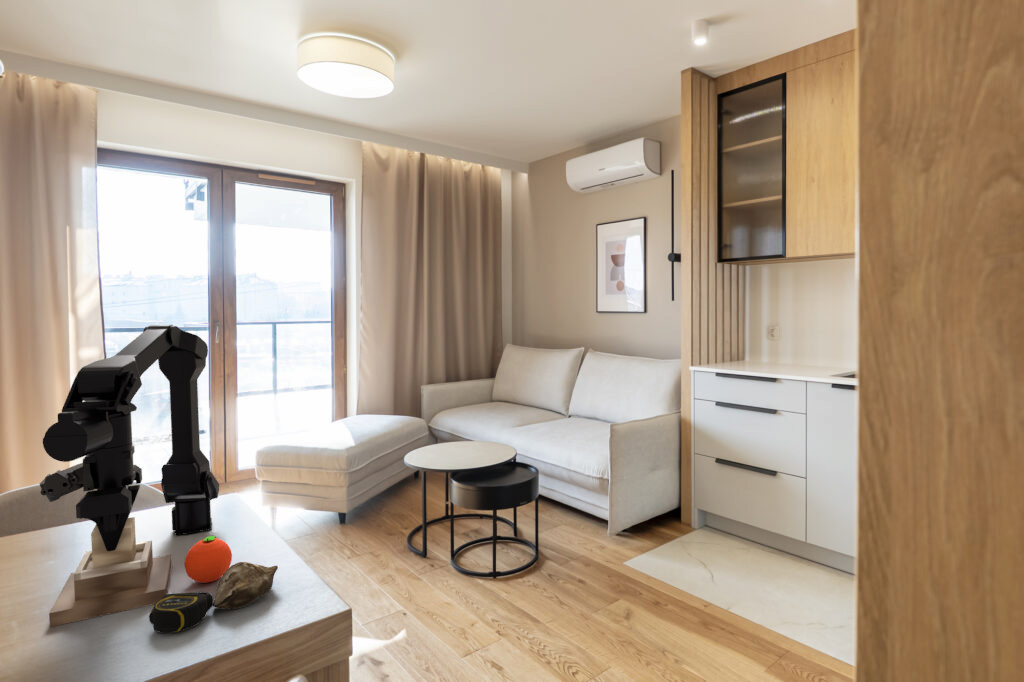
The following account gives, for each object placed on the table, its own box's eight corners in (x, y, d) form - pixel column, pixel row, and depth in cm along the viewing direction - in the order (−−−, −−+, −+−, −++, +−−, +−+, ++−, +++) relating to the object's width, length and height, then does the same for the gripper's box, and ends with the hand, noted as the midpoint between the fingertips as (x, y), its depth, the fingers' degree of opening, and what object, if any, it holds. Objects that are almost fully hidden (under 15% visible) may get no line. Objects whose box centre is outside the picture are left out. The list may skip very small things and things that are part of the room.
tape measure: (215, 611, 83) (214, 587, 82) (192, 638, 76) (191, 611, 76) (167, 614, 82) (166, 589, 82) (140, 641, 75) (139, 613, 75)
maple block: (136, 552, 91) (134, 517, 91) (132, 564, 87) (130, 527, 87) (98, 559, 89) (96, 522, 89) (93, 572, 84) (91, 533, 84)
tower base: (171, 565, 98) (170, 532, 97) (165, 601, 85) (164, 563, 85) (71, 585, 91) (69, 549, 91) (49, 626, 79) (47, 585, 78)
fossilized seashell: (230, 607, 79) (292, 590, 87) (222, 561, 81) (283, 548, 90) (203, 623, 82) (265, 604, 90) (196, 577, 84) (257, 563, 93)
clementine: (194, 570, 96) (192, 530, 95) (238, 565, 97) (236, 526, 97) (179, 593, 88) (177, 549, 87) (227, 587, 90) (225, 544, 89)
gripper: (59, 439, 91) (64, 532, 92) (26, 466, 75) (32, 579, 76) (140, 431, 97) (144, 519, 97) (126, 455, 80) (131, 561, 81)
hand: (114, 542), depth 88 cm, fingers open, 7 cm apart
